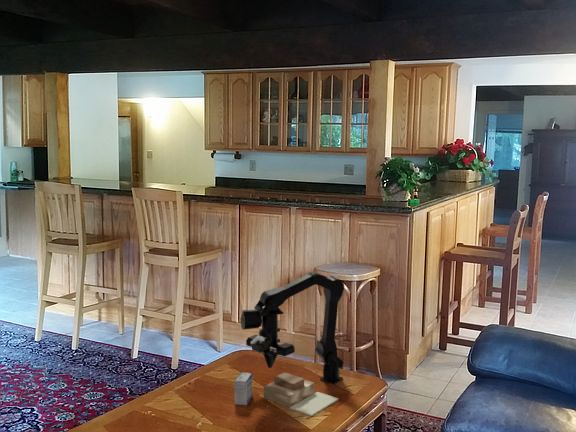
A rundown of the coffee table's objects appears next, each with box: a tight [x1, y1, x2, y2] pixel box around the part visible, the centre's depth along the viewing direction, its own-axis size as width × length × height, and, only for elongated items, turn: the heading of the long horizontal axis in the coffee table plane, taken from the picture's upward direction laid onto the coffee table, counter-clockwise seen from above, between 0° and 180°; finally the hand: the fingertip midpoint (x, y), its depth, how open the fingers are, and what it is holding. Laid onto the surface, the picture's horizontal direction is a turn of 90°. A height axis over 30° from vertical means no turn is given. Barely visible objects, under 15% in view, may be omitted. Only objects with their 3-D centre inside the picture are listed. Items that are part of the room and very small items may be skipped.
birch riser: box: [263, 379, 315, 408], centre depth 214 cm, size 14×12×4 cm
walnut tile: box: [273, 371, 305, 391], centre depth 214 cm, size 9×6×2 cm, turn 52°
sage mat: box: [289, 391, 339, 417], centre depth 208 cm, size 16×9×1 cm, turn 142°
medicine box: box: [233, 372, 253, 406], centre depth 210 cm, size 8×4×9 cm, turn 168°
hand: (270, 367), depth 219 cm, fingers closed
